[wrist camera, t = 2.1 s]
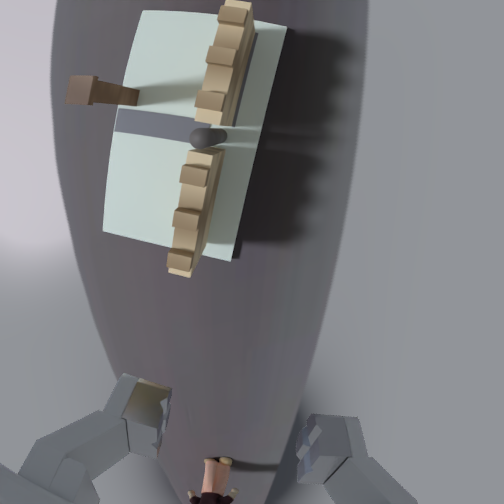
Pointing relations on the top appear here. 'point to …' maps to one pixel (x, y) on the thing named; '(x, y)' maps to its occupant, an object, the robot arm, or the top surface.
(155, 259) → the top surface
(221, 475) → the grandmother figurine
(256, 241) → the top surface
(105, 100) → the corner post
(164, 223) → the card
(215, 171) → the notched wooden plank
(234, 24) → the fence fixed
